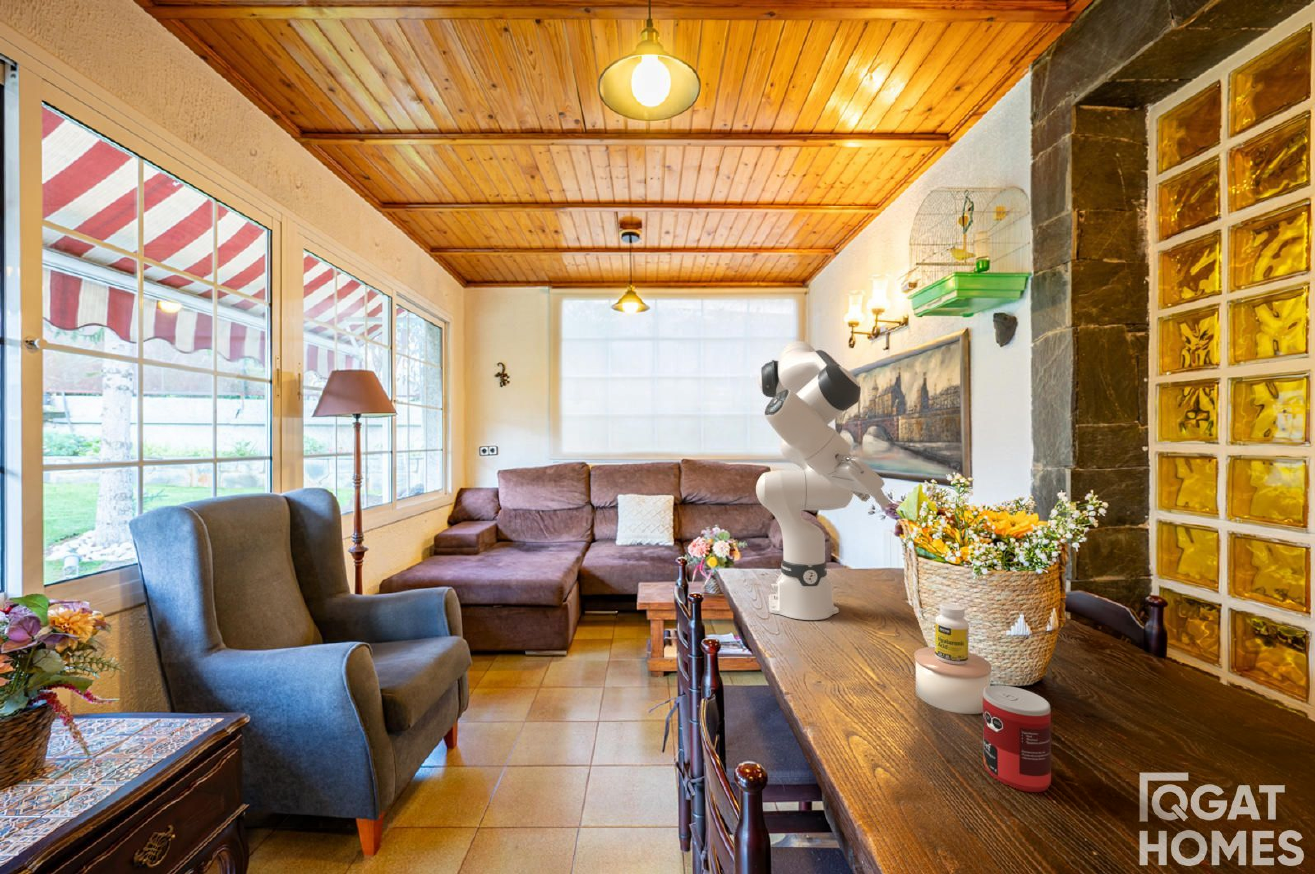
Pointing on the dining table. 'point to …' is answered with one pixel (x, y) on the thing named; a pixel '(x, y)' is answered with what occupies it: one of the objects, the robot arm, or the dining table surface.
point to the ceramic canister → (951, 682)
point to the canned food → (1017, 737)
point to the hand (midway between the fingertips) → (876, 501)
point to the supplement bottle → (951, 634)
